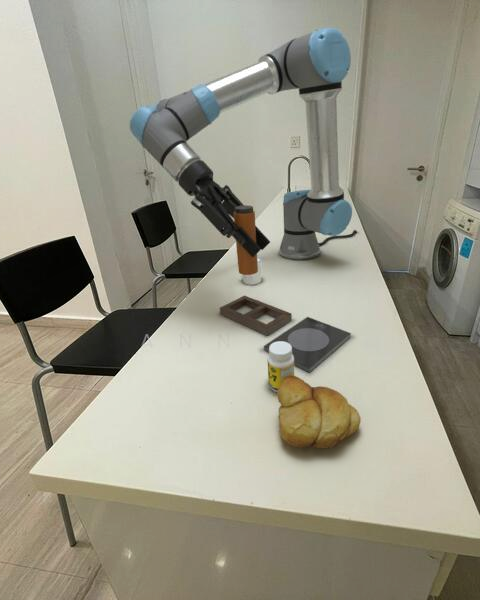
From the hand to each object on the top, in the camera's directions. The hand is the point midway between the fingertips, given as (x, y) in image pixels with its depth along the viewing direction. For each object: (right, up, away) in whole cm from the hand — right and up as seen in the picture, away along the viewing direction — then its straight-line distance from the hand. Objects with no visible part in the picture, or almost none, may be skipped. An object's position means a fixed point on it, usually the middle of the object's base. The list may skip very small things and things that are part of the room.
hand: (261, 249), depth 75 cm
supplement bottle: (+4, -27, -13) cm, 31 cm away
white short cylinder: (-4, -6, +30) cm, 31 cm away
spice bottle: (-3, -5, +4) cm, 7 cm away
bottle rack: (-2, -16, +9) cm, 18 cm away
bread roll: (+9, -32, -23) cm, 41 cm away
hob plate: (+10, -21, -2) cm, 23 cm away
